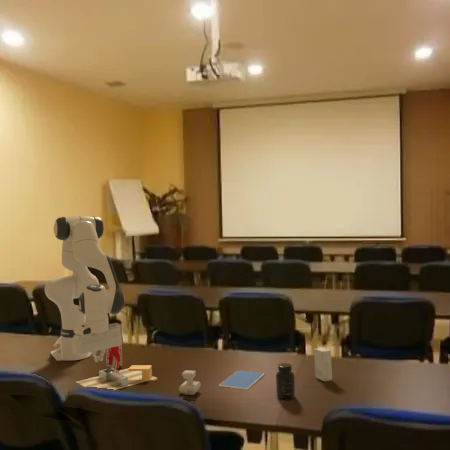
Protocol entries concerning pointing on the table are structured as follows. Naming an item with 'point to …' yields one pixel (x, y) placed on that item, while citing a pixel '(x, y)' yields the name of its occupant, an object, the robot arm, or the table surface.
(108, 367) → the pintle
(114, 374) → the link
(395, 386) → the table surface
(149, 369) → the block
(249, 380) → the blue notebook
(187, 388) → the stamp
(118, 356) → the soda can
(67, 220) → the robot arm
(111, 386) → the board
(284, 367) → the supplement bottle
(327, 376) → the skincare box
